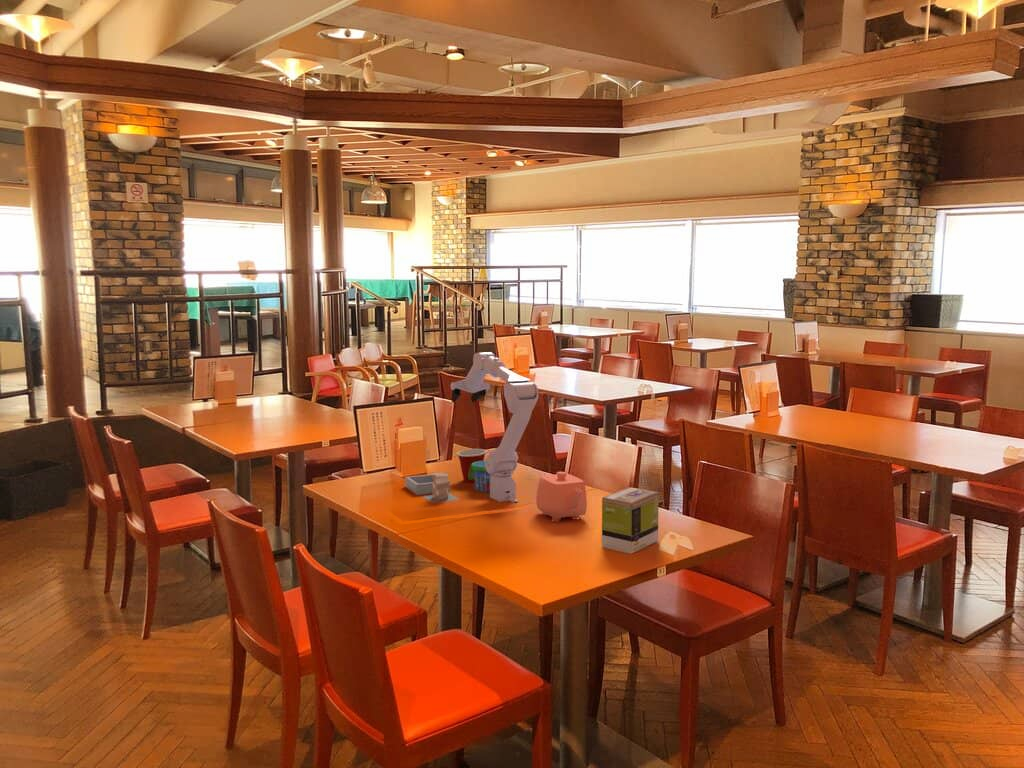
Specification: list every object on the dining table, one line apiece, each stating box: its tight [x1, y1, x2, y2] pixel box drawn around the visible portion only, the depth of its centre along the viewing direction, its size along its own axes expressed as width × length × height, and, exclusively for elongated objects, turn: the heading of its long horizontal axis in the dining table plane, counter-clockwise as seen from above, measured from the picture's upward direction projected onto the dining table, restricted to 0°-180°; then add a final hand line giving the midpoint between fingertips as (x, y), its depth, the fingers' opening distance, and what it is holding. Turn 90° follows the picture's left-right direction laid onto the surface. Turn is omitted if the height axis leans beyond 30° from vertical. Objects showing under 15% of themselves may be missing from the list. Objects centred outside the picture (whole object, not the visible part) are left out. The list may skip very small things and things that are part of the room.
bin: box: [404, 473, 450, 496], centre depth 286 cm, size 12×12×4 cm
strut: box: [432, 472, 449, 500], centre depth 274 cm, size 4×4×8 cm
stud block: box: [421, 492, 461, 504], centre depth 275 cm, size 10×10×4 cm
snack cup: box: [468, 460, 490, 493], centre depth 286 cm, size 16×10×10 cm
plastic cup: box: [456, 448, 487, 484], centre depth 299 cm, size 11×11×12 cm
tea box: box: [601, 486, 659, 555], centre depth 230 cm, size 15×10×15 cm
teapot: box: [535, 471, 588, 522], centre depth 257 cm, size 22×13×14 cm, turn 24°
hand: (462, 400), depth 297 cm, fingers open, 7 cm apart
